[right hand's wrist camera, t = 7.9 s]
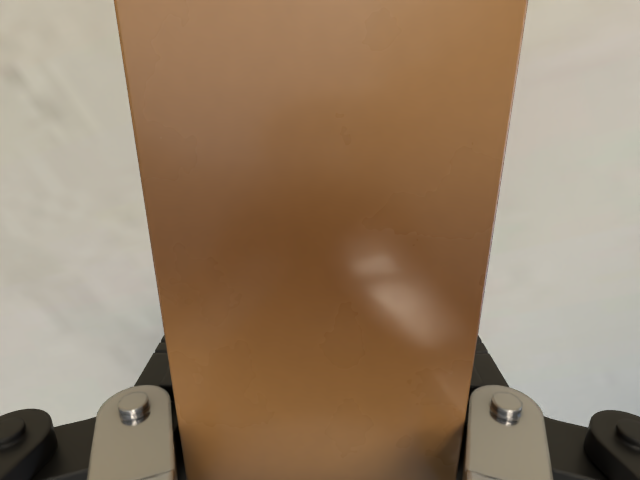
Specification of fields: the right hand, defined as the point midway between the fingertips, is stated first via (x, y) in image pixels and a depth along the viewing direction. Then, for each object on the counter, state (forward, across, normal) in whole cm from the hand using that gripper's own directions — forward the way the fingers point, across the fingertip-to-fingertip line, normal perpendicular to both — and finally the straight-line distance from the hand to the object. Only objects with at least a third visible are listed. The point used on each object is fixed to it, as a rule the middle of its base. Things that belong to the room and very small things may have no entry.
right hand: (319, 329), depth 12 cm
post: (+3, 0, -28) cm, 28 cm away
